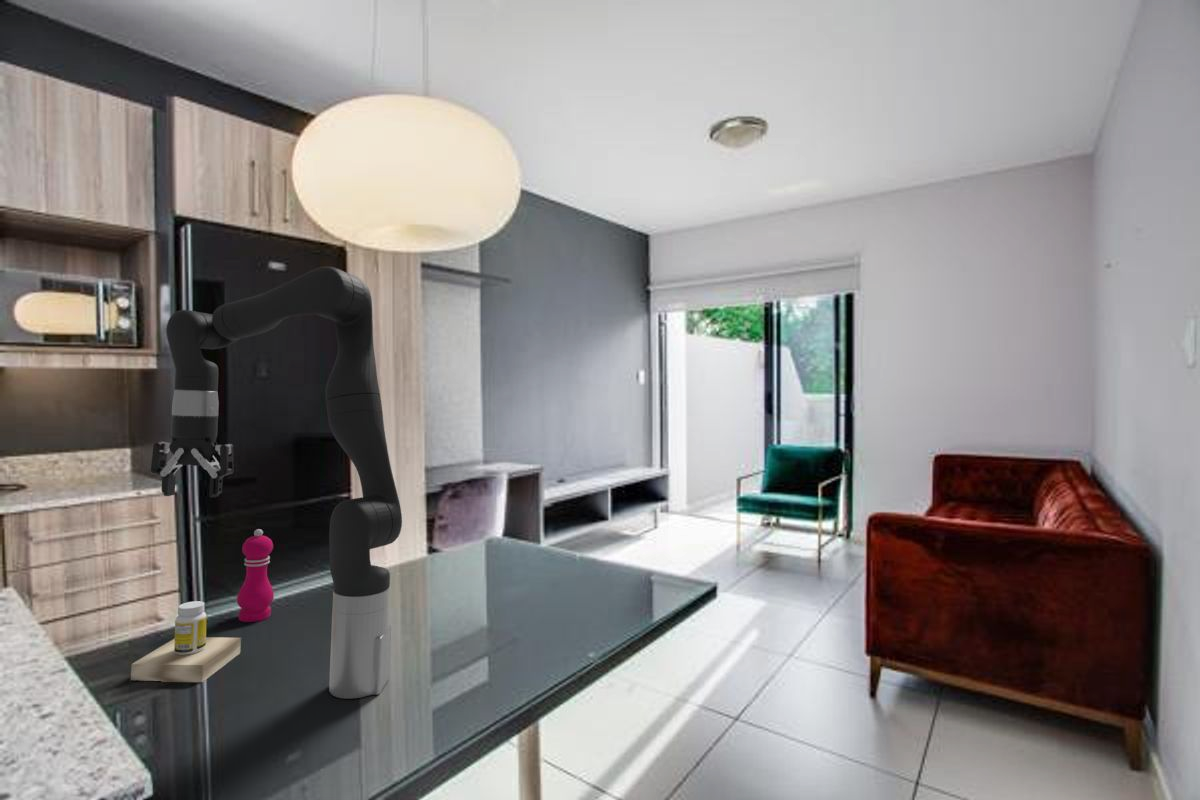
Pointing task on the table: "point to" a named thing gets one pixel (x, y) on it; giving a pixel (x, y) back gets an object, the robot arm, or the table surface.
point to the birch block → (186, 661)
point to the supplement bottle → (190, 628)
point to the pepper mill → (256, 579)
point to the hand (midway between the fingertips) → (191, 496)
